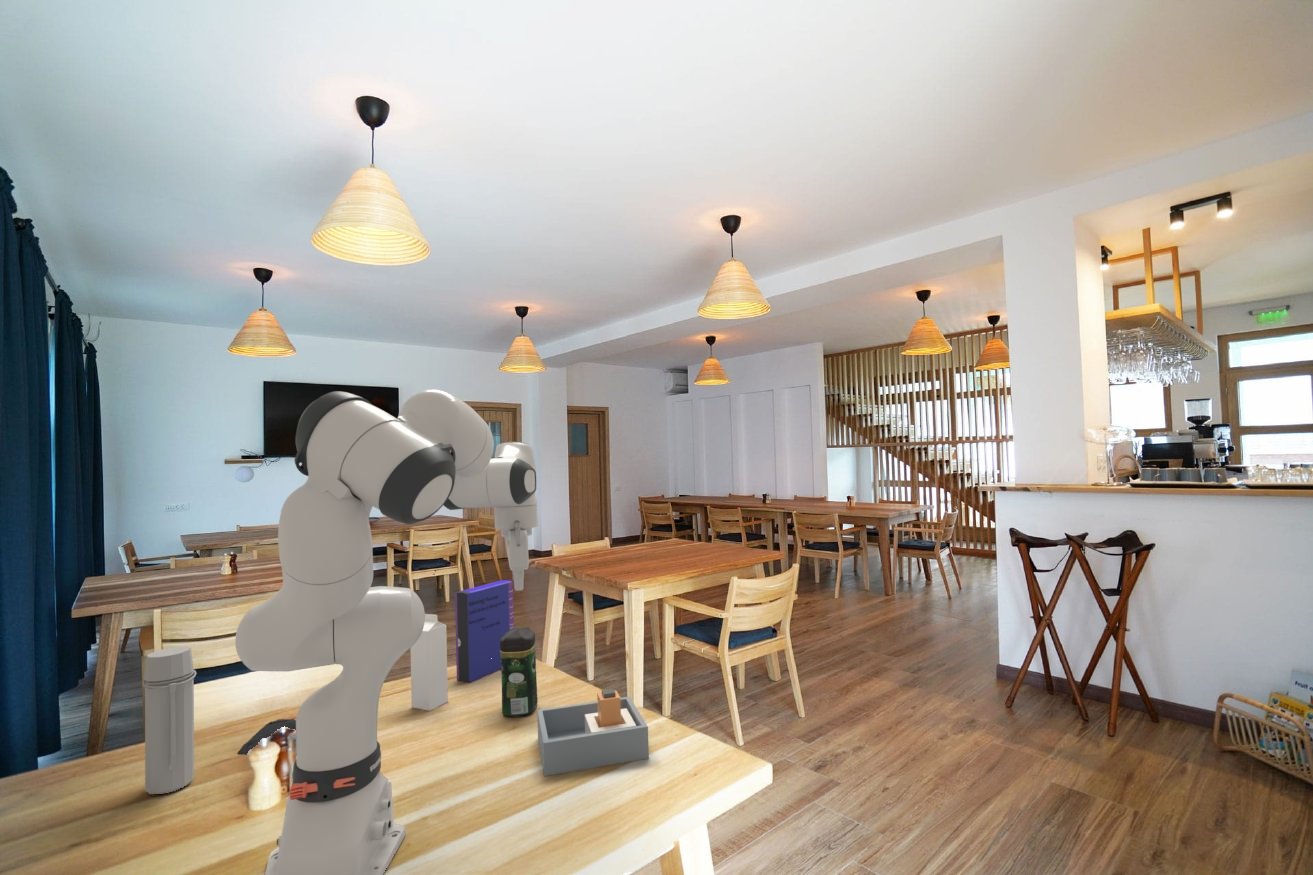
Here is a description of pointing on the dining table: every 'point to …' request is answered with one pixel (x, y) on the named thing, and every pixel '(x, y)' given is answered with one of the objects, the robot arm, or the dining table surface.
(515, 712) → the coffee jar
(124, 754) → the dining table surface
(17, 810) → the dining table surface
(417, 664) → the milk
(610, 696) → the plug
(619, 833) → the dining table surface
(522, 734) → the dining table surface
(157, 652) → the water bottle
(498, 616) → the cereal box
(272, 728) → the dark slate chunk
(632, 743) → the bin
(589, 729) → the socket
